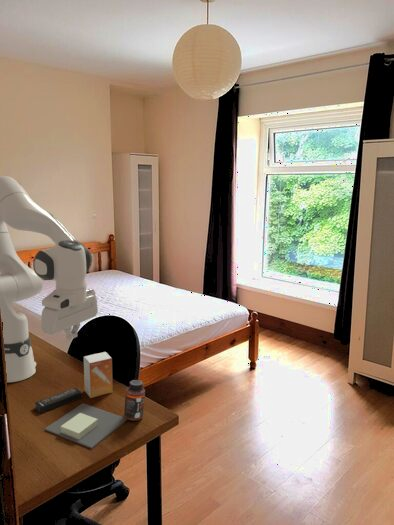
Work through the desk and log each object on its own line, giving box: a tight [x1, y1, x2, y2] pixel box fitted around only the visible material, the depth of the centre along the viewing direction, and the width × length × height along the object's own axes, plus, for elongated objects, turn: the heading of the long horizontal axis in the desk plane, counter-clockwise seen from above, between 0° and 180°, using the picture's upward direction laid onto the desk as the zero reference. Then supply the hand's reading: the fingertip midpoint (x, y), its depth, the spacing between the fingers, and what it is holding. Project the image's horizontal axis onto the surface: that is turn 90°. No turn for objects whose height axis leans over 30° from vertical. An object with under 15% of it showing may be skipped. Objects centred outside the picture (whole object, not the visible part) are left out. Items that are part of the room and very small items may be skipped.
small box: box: [83, 351, 113, 399], centre depth 143 cm, size 8×6×13 cm
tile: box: [61, 413, 98, 439], centre depth 122 cm, size 7×2×8 cm
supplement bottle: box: [123, 379, 146, 422], centre depth 128 cm, size 6×6×11 cm
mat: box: [44, 402, 128, 450], centre depth 125 cm, size 18×16×1 cm
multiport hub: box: [34, 387, 83, 414], centre depth 137 cm, size 4×14×2 cm, turn 134°
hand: (71, 338), depth 127 cm, fingers closed
